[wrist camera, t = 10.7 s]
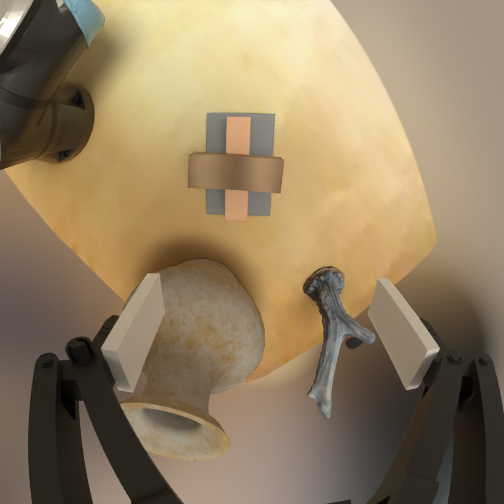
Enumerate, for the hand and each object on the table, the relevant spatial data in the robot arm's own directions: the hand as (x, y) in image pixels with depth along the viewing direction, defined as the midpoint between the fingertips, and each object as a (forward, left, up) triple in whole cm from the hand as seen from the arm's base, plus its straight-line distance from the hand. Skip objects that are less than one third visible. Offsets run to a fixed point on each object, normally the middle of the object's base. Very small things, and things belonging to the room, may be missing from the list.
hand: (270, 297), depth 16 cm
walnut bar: (-5, +3, -23) cm, 24 cm away
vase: (-2, -21, -30) cm, 37 cm away
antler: (+18, -13, -30) cm, 37 cm away
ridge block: (-4, +3, -30) cm, 30 cm away
